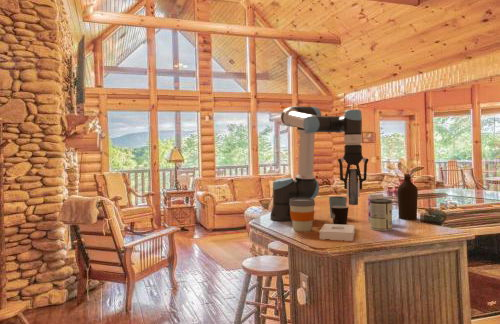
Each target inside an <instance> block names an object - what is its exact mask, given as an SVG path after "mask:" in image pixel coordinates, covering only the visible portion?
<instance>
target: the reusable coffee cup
mask: <svg viewBox="0 0 500 324" xmlns="http://www.w3.org/2000/svg"><path fill="white" fill-rule="evenodd" d="M289 205H290V209H291V210H290V215H291V222H292V223H291V224H292V229H293V231H295V232H303V231H304V232H311V231H312V229H313V227H312V226H313V221H314V218H315V206H316V203H315V198H314V199H311V198H293V199H290V203H289Z"/></svg>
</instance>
